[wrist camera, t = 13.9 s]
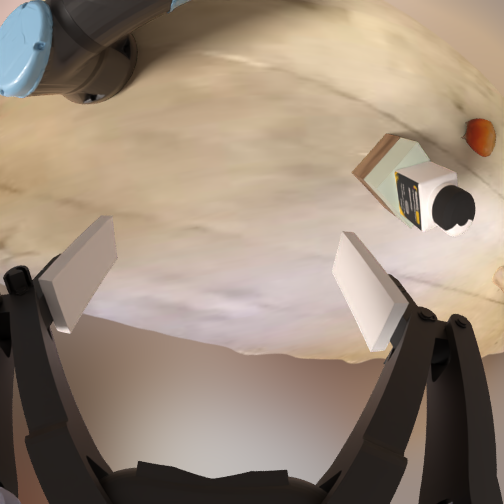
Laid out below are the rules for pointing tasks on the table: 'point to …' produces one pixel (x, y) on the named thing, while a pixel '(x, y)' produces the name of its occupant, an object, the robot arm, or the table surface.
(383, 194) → the sage slab
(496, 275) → the beer glass
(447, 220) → the medicine bottle
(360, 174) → the walnut slab
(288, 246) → the table surface
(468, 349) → the robot arm
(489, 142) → the fruit
